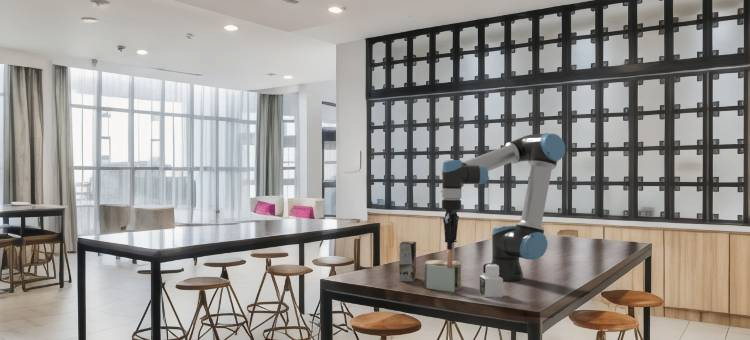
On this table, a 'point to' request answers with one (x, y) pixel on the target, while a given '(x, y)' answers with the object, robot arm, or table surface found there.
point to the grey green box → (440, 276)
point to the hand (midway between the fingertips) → (450, 258)
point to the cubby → (454, 265)
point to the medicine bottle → (491, 281)
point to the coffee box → (407, 261)
